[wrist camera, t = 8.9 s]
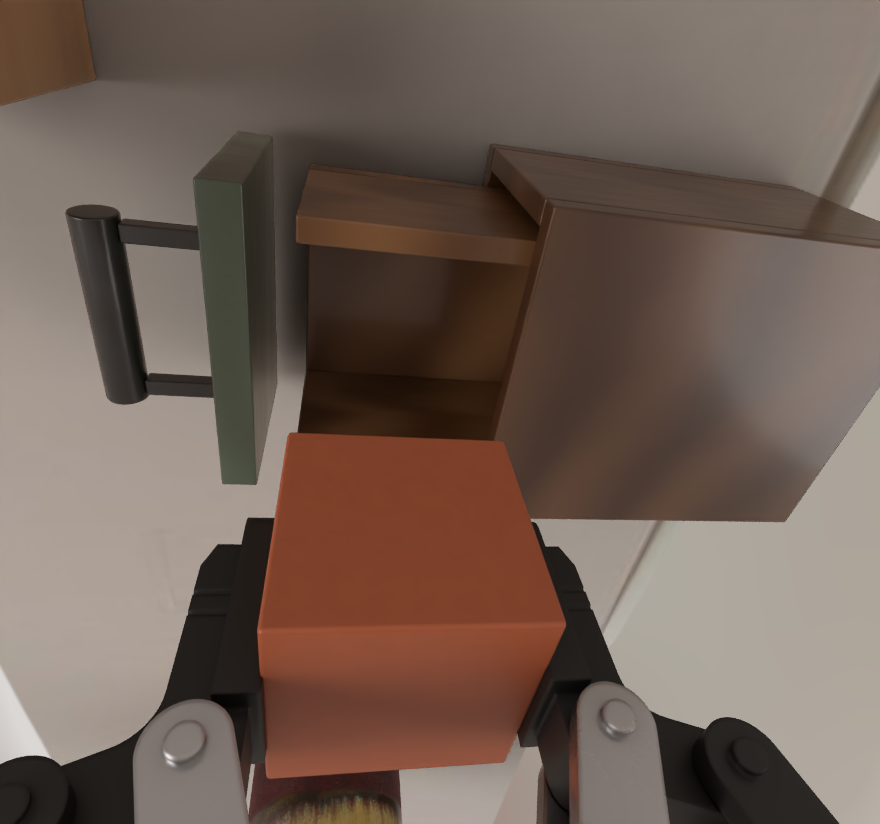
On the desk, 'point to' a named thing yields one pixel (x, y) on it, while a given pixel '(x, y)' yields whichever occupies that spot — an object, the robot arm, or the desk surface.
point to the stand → (42, 48)
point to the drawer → (326, 300)
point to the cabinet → (681, 340)
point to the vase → (326, 798)
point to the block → (400, 606)
